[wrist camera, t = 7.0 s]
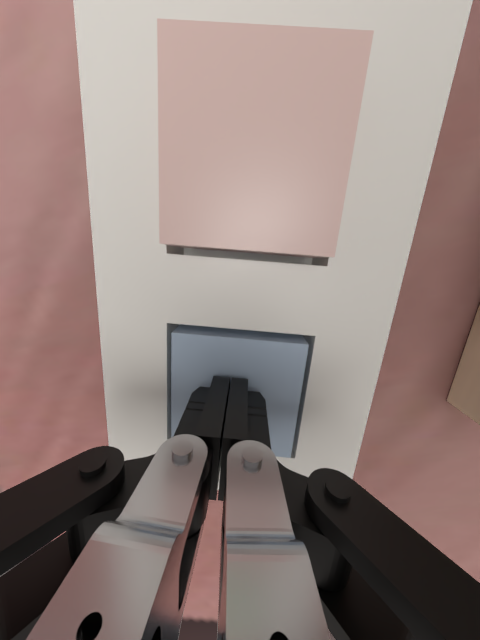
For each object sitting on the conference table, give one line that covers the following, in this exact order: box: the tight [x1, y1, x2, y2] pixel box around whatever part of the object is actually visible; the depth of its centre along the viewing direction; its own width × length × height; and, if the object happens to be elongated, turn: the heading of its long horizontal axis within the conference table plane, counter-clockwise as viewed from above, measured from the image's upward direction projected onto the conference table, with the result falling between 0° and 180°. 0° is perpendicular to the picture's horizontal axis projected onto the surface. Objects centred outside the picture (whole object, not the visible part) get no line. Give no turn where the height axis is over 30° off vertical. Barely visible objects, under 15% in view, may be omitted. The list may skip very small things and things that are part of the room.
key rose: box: [157, 18, 374, 258], centre depth 8 cm, size 6×6×3 cm
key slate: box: [171, 324, 309, 458], centre depth 11 cm, size 6×6×3 cm
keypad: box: [73, 0, 473, 490], centre depth 10 cm, size 12×29×3 cm, turn 176°
